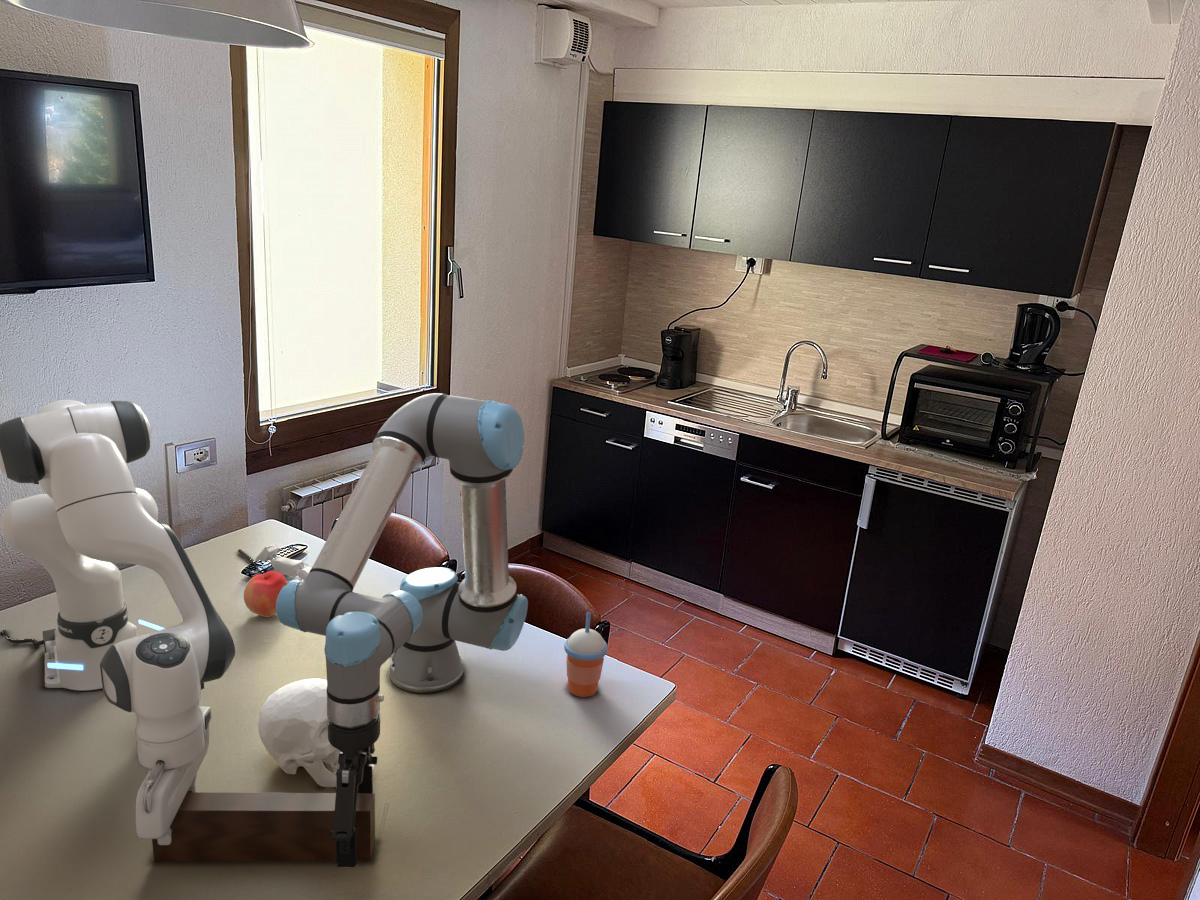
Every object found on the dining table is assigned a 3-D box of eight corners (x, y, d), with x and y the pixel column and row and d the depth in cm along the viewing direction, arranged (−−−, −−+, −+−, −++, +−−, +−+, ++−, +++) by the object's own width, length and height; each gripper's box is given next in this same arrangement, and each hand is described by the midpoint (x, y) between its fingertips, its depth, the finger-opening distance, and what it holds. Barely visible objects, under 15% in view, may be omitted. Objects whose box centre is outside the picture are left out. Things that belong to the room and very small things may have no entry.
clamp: (253, 565, 223) (254, 542, 221) (265, 560, 226) (266, 537, 224) (309, 593, 215) (310, 569, 213) (320, 588, 218) (321, 564, 216)
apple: (273, 600, 207) (272, 562, 204) (297, 613, 202) (296, 575, 199) (237, 614, 200) (234, 575, 197) (261, 628, 194) (259, 588, 191)
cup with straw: (599, 704, 176) (605, 627, 171) (556, 696, 178) (561, 619, 172) (607, 681, 185) (614, 606, 179) (566, 673, 186) (572, 599, 181)
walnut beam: (153, 862, 129) (148, 810, 126) (164, 842, 132) (159, 791, 130) (370, 861, 132) (370, 811, 129) (374, 842, 136) (374, 793, 133)
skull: (353, 805, 143) (354, 722, 139) (242, 771, 149) (240, 691, 144) (394, 760, 155) (396, 682, 151) (290, 730, 161) (289, 655, 157)
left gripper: (168, 789, 116) (175, 870, 120) (214, 701, 135) (219, 774, 139) (118, 789, 115) (127, 872, 119) (172, 701, 134) (178, 774, 139)
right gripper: (364, 771, 115) (365, 896, 121) (392, 668, 138) (392, 777, 145) (306, 770, 114) (311, 896, 120) (345, 667, 138) (347, 777, 144)
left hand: (177, 818), depth 130 cm, fingers open, 8 cm apart
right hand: (355, 831), depth 133 cm, fingers open, 13 cm apart
